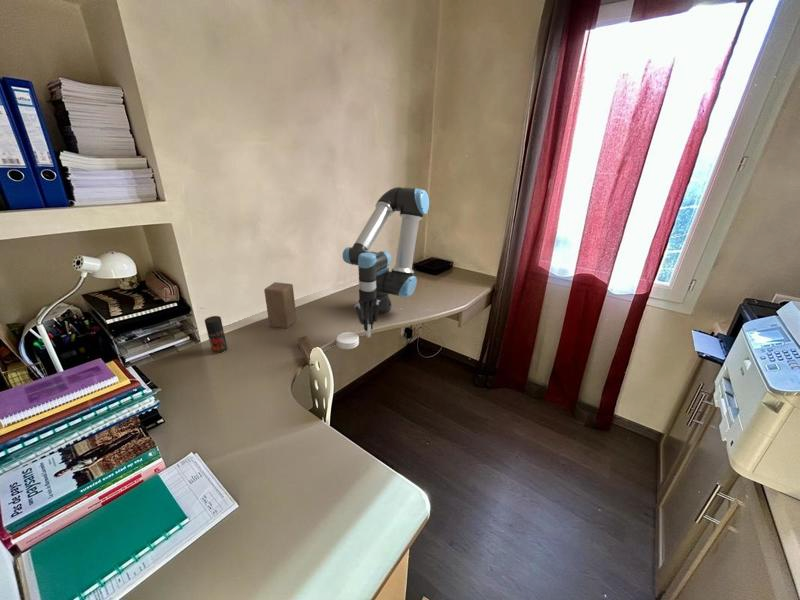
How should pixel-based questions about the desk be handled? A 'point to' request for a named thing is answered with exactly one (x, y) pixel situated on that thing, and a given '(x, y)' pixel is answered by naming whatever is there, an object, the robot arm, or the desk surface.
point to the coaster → (347, 340)
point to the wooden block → (280, 304)
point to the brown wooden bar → (305, 347)
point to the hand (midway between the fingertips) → (368, 335)
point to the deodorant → (216, 334)
